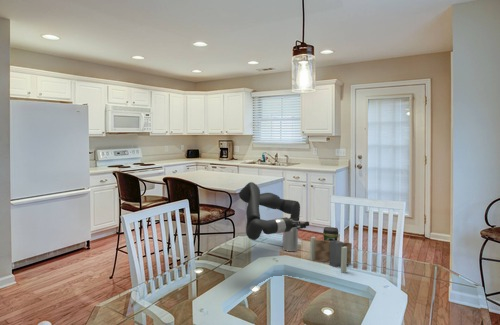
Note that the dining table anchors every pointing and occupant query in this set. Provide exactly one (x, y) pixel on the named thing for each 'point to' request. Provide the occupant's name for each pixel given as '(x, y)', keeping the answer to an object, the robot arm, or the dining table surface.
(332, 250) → the iron block
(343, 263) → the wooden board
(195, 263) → the dining table surface
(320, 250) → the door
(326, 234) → the coffee jar
